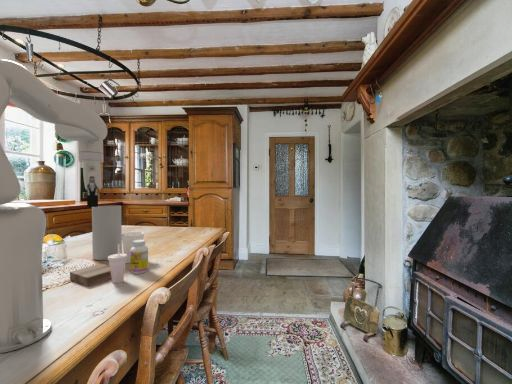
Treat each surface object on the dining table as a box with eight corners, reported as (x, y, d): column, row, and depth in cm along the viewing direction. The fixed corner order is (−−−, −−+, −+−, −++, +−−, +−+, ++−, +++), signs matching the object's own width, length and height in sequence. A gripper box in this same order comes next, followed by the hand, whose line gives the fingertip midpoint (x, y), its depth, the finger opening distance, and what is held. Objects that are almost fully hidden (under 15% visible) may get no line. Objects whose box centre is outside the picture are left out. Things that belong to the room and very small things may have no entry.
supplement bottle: (126, 272, 106) (126, 241, 105) (140, 268, 112) (140, 238, 111) (137, 275, 103) (137, 243, 102) (151, 270, 109) (151, 240, 108)
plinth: (119, 275, 102) (119, 268, 102) (87, 286, 92) (87, 277, 92) (102, 270, 108) (102, 263, 108) (70, 279, 98) (69, 272, 97)
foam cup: (119, 260, 122) (119, 233, 122) (140, 257, 128) (139, 231, 128) (125, 265, 115) (125, 236, 115) (146, 261, 121) (146, 233, 121)
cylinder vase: (127, 255, 130) (126, 206, 130) (101, 262, 120) (100, 208, 119) (112, 252, 137) (112, 205, 136) (87, 258, 126) (86, 207, 125)
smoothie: (119, 285, 92) (118, 246, 92) (103, 284, 94) (103, 245, 93) (131, 279, 99) (130, 242, 98) (116, 277, 100) (116, 241, 100)
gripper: (104, 157, 87) (105, 207, 88) (102, 159, 102) (103, 203, 103) (77, 155, 83) (79, 208, 84) (79, 159, 98) (80, 204, 99)
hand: (92, 205), depth 94 cm, fingers open, 9 cm apart
